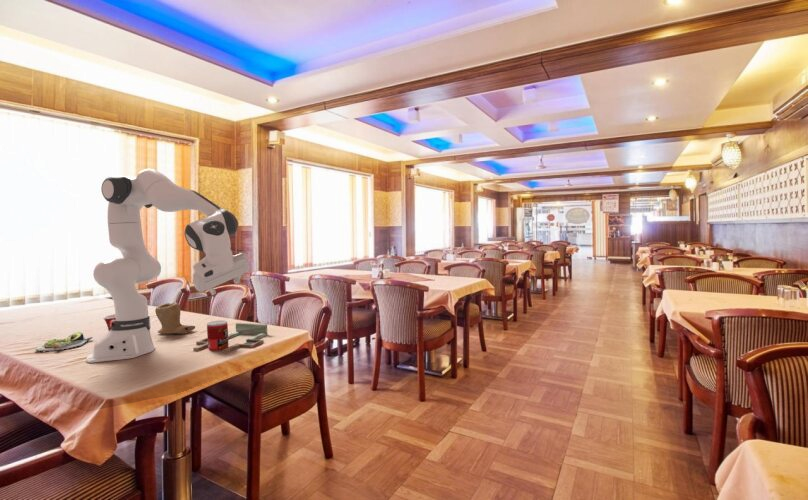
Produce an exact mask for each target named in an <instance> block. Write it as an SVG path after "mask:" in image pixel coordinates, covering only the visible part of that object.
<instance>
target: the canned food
mask: <svg viewBox="0 0 808 500" xmlns="http://www.w3.org/2000/svg"><path fill="white" fill-rule="evenodd" d="M228 325H229V324H228V321H227V320H214V321H213V320H212V321H208V322H207V323H206V331H207V332H206V335H207V338H208V347H207V348H208V350H209V351H211V352H218V351H219V352H220V351H222V350H223V349H226V348H228V347H229V339H228V335H229V328H228Z"/></svg>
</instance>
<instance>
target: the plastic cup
mask: <svg viewBox="0 0 808 500" xmlns="http://www.w3.org/2000/svg"><path fill="white" fill-rule="evenodd" d="M102 318H103V321H105V324H106V326H107V330H108V332H109V331H110V330H111V329H110V321H111V320H116V317H115V313H114V314H109V315H106V316H103V317H102Z"/></svg>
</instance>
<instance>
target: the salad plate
mask: <svg viewBox="0 0 808 500" xmlns="http://www.w3.org/2000/svg"><path fill="white" fill-rule="evenodd" d="M91 339H93V336H91V337H88V336H87V337H85V336H84V333H82V332H81V331H80V332H74V333H72V334H71V335H69V336H68V337H67V338H64V339H61V338H60V339H56V338H54V339H51V340H47V342H43V343H42V344H39V346H37V347H36V348H35V350H36V351H37V352H40V351H51V352H56V351H55V350H61V351H65V350H64V349H66V350H70V349H69V348H71V349H74V348H73V347H75V348H78V347H77V346H79V347H81V346H83V345H84V344H86V343H87V342H88V341H90V340H91ZM85 342H86V343H85ZM42 347H54V348H45V349H42Z"/></svg>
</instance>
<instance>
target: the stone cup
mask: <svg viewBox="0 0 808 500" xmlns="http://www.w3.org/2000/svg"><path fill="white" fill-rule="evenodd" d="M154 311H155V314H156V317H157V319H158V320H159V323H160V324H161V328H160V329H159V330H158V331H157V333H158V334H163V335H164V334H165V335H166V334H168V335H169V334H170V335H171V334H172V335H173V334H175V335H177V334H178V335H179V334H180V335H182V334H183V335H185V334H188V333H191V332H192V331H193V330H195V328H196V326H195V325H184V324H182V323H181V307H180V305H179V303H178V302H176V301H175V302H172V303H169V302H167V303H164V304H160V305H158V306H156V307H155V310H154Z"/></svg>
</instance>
